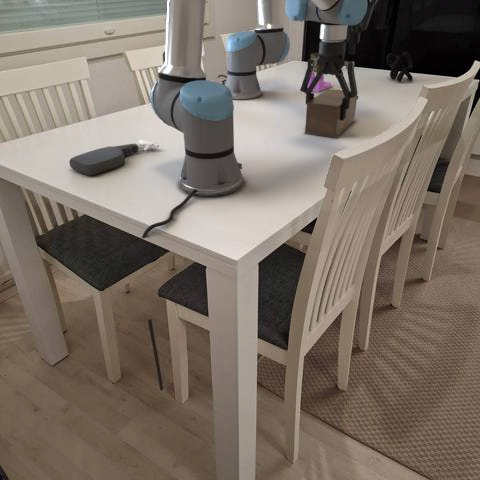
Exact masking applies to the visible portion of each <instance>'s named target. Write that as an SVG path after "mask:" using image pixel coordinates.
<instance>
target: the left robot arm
mask: <svg viewBox="0 0 480 480" xmlns="http://www.w3.org/2000/svg"><path fill="white" fill-rule="evenodd" d="M206 2H207V0H167V8H166V9H167V10H166V18H167V31H166V30H165V34H166V35H165V51H166V56H165V64H164V65H163V64H162V66H160V67H159V68H158V73H157V81H156V82H155V84H153V86H152V88H151V92H150V105H151V109H152V111H153V112H154V114H155V115H156V117H158V119H159V120H161V122H163V124H165V125H166V126H169V127H171V128H173V129H175V130H177V131H178V132H180V133H182V134H183V141H184V142H183V143H184V154H185V155H184V158H183V164H182V168H181V171H180V176H179V183H180V184H179V185H180V188H181V189H182V191H184V192H186V193H187V194H188V195H187V196H186V197H185V199H184V200H183V201H181V203H179V204H177V205H176V206H175V207H173V208H172V209H171V210H170V213H169V217H168V218H167V219H165V220H163V221H159V222H156V223H153V224H151V225H149V226H148V227H147V228H146V229H145V230H144V232H143V234H142V236H141V239H145V238H147V236H148V234H149V233H150V231H152V230H153V229H155V228H159V227H162V226H165V225H168V224H170V222H172V221H173V218H174V216H175V215H174V214H175V213H176V212H177V211H178V210H180V209H181V208H183V207H184V206H185V205H186V204H187V203H188V202H189V200H190V199H192V197H193V196H199V197H221V196H224V195H229V194H232V193H234V192H235V191H237V190H239V189H240V188H241V187H242V185H243V174H242V171H241V170H243V163H242V162H241V163H240V162H238V160H237V157H236V154H235V132H234V131H235V130H234V127H235V126H234V110H235V105H234V99H233V98H232V93H231V91H230V89H229V88H228V87H227V86H225V85H224V84H222V82H219V81H211V80H207V74H206V72H205V71H204V70H203V68H202V55H203V44H204V43H203V42H204V28H205V14H206ZM367 9H368V0H285V13H286V15H287V17H288V18H289V20H291V21H292V22H305V21H306V22H307V21H311V22H316V23H320V31H319V39H320V41H319V42H318V43H319V44H318V53H319V56H318V59H314V58H311V57H310V58H309V59H308V60H307V68H306V72H305V73H304V77H303V80H302V83H301V86H300V92H301V93H304V94H305V105H307V102H309V101H310V100H312V99H313V98H315V93H314V91H313V89H314V88H315V86H316V85H317V83H318V81H319V80H320V78H321V77H322V75H330V76H335V78H336V80H337V81H338V84H339V86H340V90H342V91H343V94H344V96H345V97H344V98H343V99H342V109H341V118H340V120H341V121H343V120H344V119H345V117H346V109H349V107H350V100H351V98H352V97H355V96H356V95H357V96H358V94H359V93H358V88H357V81H356V74H355V64H356V62H355V61H354V60H352V61H349V60H346V58H345V55H346V46H347V41H345V40H347V26H348V25H354V26H356V24H358V23H359V22H361V20H362V21H363V20H364V18H365V15H366V12H367ZM316 63H317V64H318V66H319V68H320V69H319V71H316V74H315V78H314V79H313V81H312V83H311V84H310V86H309V87H308V84H309V81H310V78H311V75H312V72H313V73H314V66H315V65H316ZM344 66H345V69H346V71H347V77H348V83H347V81H346V78H345V76H344V72H343V67H344ZM348 84H349V85H348ZM307 87H308V88H307ZM350 91H351V92H350ZM147 323H148V329H149V335H150V339H151V344H152V346H151V347H152V351H153V355H154V360H155V367H156V372H157V377H158V378H157V380H158V385H159V390H160V391H163V390H164V385H163V379H162V372H161V365H160V360H159V355H158V350H157V343H156V339H155V332H154V326H153V321H152V318H150V319H148V320H147Z"/></svg>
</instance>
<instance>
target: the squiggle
mask: <svg viewBox="0 0 480 480" xmlns="http://www.w3.org/2000/svg"><path fill="white" fill-rule="evenodd" d="M401 57H402V59H401ZM391 59H392V60H391ZM393 60H394V61H393ZM385 61H386V64H387V67H390V68H391V70H390V72H389V78H390V79H391V80H395V79H396V81H397V82H399V83H400V82H402V81H403V79H404V76H406V78H407V80H408V81H412V80H413V79H414V77H413V75H412V74H411V73H410V72H409V71H410V70H412V69H413V68H414V64H413V61H412V57H411V54H410V53H409V52H408V51H403V53H402V54H401V55H396V54H394V53H392V52H390V53H387V55H386V57H385ZM406 62H407V65H408V66H407V67H405V66H404V65H405V64H406ZM400 70H401V71H400Z"/></svg>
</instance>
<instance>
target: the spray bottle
mask: <svg viewBox="0 0 480 480" xmlns="http://www.w3.org/2000/svg"><path fill="white" fill-rule="evenodd" d="M159 148H160V145H159V144H158V143H155V142H151V141H148V140H144V139H139V140H138V141H137V142H135V143H129V144H128V143H126V144H122V145H113V146H105V147H100V148H97V149H94V150H90V151H87V152H83V153H81V154H78V155H74V156H73V157H70V159H69V161H68V162H69V167H70V168H71V169H72V170H74V171H75V172H78V173H81V174H83V175H85V176H89V177H90V176H91V177H92V176H95V175H99V174H102V173H105V172H107V171H110V170H113V169H116V168H118V167H120V166H122V165H123V164H124V163H125V158H126V156H127V155H131V154H133V153H138V151H140V150H143V151H144V152H146V151H147V150H149V149H159Z"/></svg>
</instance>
